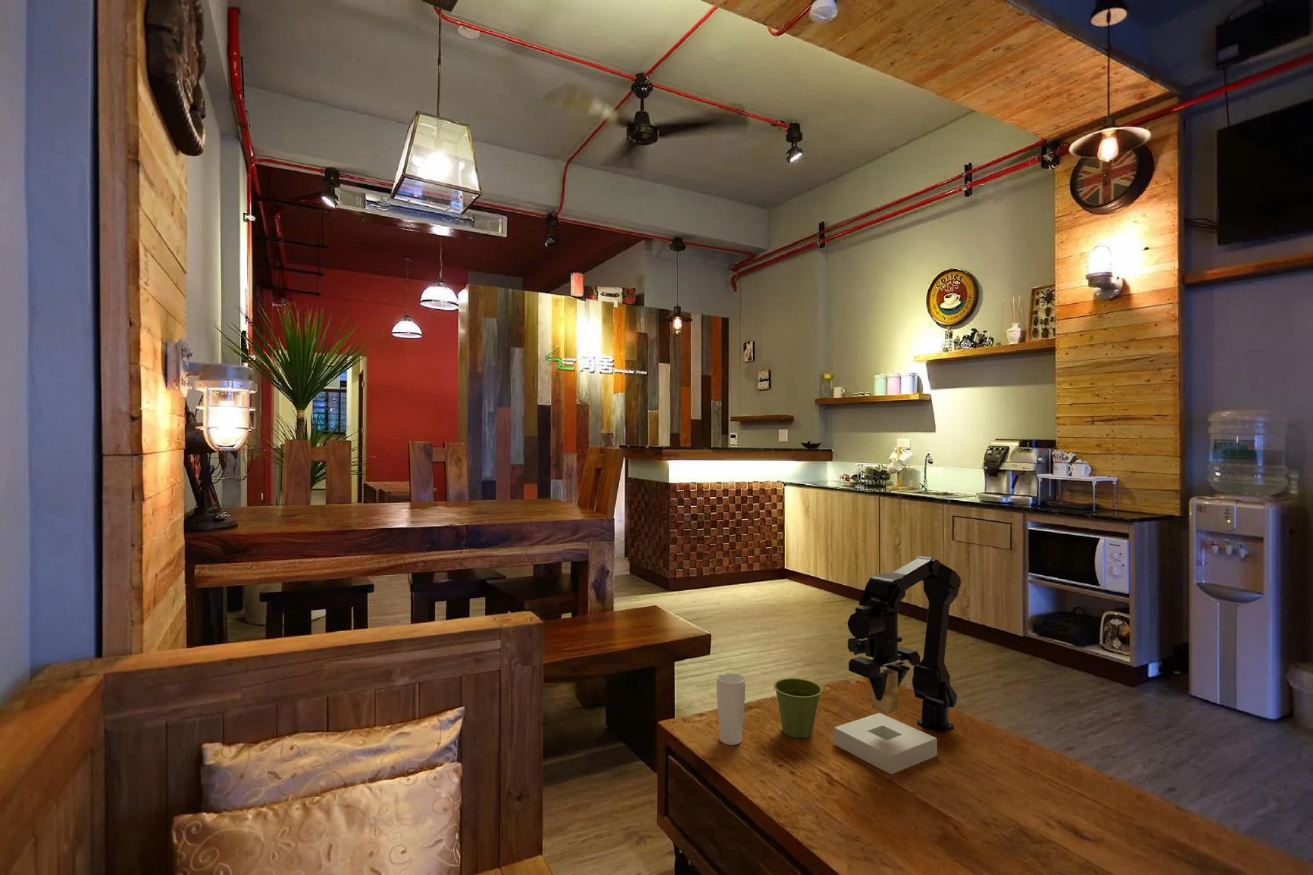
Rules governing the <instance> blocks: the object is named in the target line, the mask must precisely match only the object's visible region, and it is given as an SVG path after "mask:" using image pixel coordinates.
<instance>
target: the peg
mask: <svg viewBox="0 0 1313 875" xmlns="http://www.w3.org/2000/svg"><path fill="white" fill-rule="evenodd" d="M883 673H885V674H887V675H888V677H887V681H886V685H885V689H884V693H883V696H882V699H881V701H878V700H877V699H876V697H875V694H874V691H873V689H872V688H871V690H872V691H871V692H872V693H871V696H872V697H871V699H872V701H871V704H872V705H871V706H872V707H871V708H872V709H873V710H875V711H877V712H879V713H881V714H883V715H889V714H891V713H895V712H898V711H899V687H898V672H897V671H895V670H892V669H889V668H886V667H884V668H883Z"/></svg>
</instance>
